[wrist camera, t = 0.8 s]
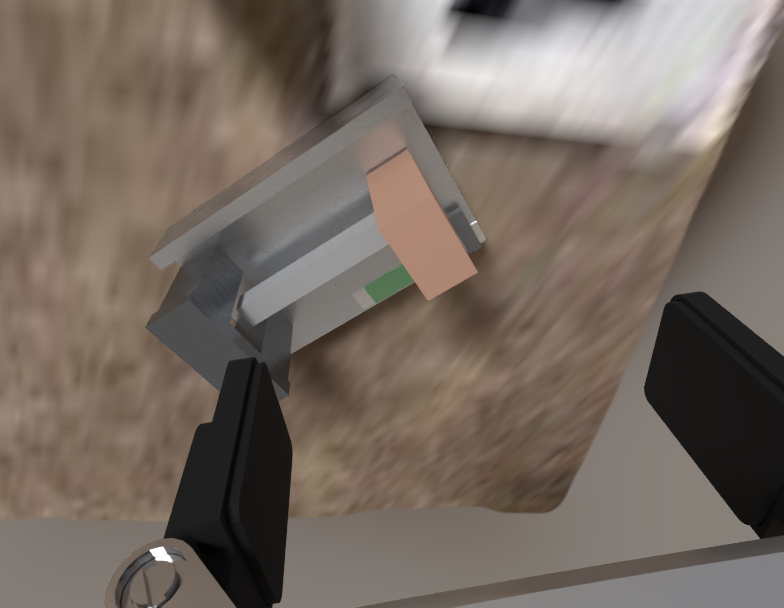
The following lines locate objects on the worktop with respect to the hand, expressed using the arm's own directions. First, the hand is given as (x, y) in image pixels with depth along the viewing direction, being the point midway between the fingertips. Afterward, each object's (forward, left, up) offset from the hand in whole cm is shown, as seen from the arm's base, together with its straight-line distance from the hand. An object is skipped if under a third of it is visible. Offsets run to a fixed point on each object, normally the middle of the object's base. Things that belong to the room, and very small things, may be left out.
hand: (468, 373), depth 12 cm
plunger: (+5, +5, -21) cm, 22 cm away
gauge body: (+6, +4, -24) cm, 25 cm away
